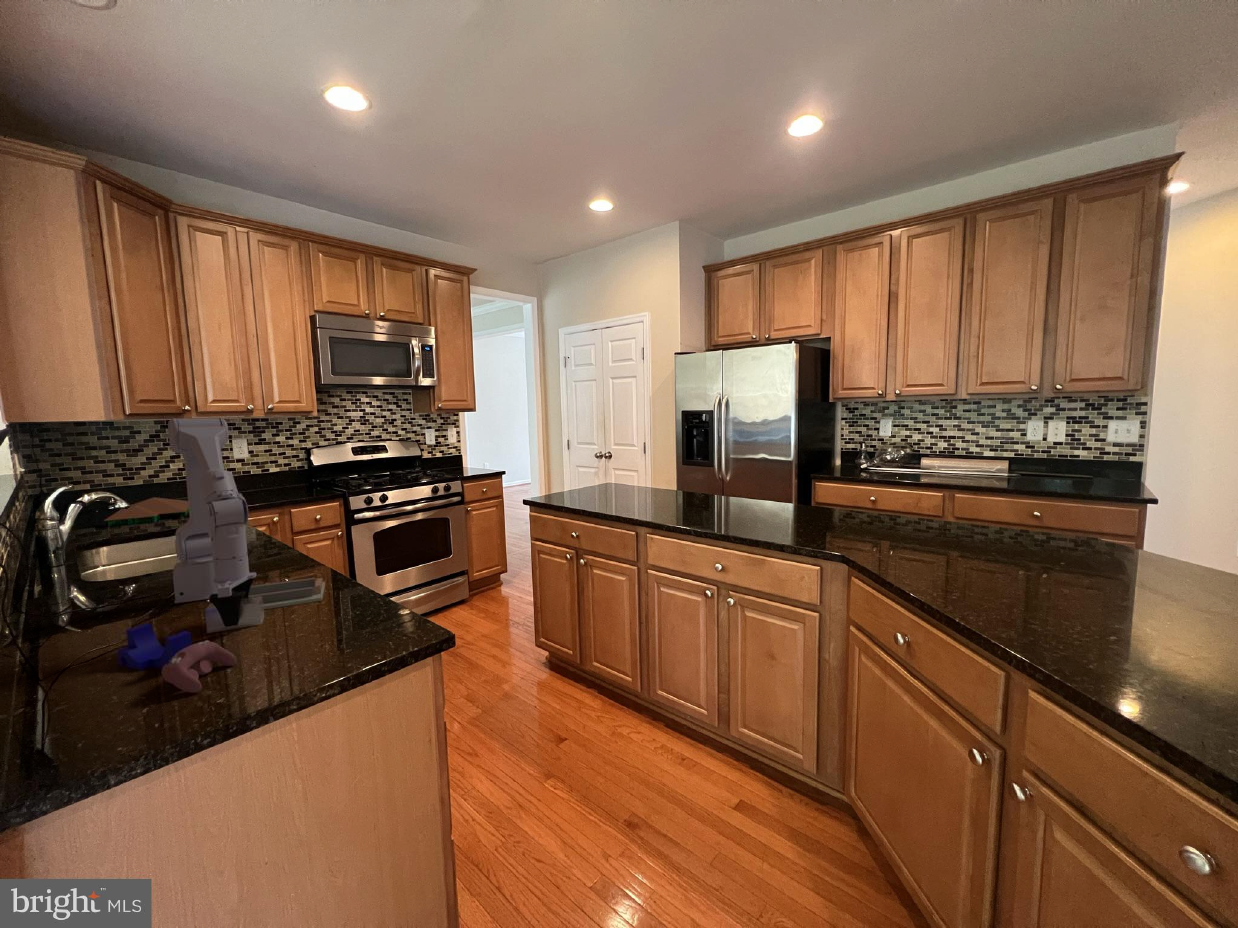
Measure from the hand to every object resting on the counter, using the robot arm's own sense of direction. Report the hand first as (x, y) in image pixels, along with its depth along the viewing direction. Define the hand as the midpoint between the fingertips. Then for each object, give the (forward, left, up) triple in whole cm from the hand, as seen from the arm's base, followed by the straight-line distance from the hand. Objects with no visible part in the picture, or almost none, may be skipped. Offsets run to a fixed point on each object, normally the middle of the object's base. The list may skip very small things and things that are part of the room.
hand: (236, 618), depth 104 cm
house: (-55, +145, -2) cm, 155 cm away
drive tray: (+6, +13, -1) cm, 14 cm away
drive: (0, 0, -2) cm, 2 cm away
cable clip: (-9, -13, -2) cm, 16 cm away
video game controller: (-1, -23, -2) cm, 23 cm away
